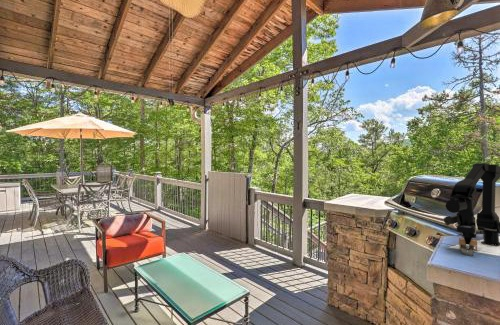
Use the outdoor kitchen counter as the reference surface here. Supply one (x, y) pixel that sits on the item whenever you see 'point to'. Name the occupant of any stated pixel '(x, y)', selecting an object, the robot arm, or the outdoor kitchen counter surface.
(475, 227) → the beverage can
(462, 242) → the orange u-shaped block
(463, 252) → the arm
